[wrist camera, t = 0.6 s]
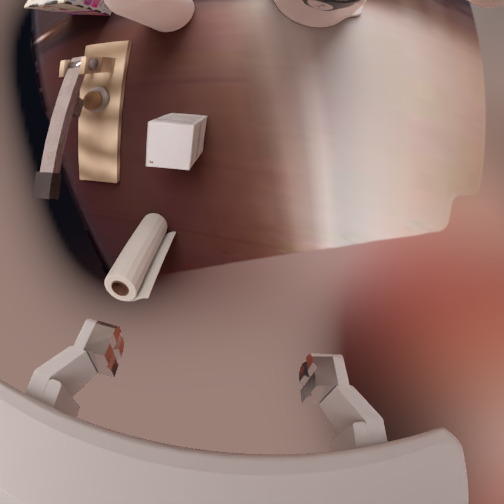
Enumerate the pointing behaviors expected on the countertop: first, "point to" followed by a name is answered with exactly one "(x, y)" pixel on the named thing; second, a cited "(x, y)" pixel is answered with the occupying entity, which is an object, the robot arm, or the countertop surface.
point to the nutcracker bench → (107, 120)
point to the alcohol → (155, 12)
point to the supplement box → (175, 140)
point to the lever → (59, 132)
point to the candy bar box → (71, 6)
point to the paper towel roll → (140, 260)
